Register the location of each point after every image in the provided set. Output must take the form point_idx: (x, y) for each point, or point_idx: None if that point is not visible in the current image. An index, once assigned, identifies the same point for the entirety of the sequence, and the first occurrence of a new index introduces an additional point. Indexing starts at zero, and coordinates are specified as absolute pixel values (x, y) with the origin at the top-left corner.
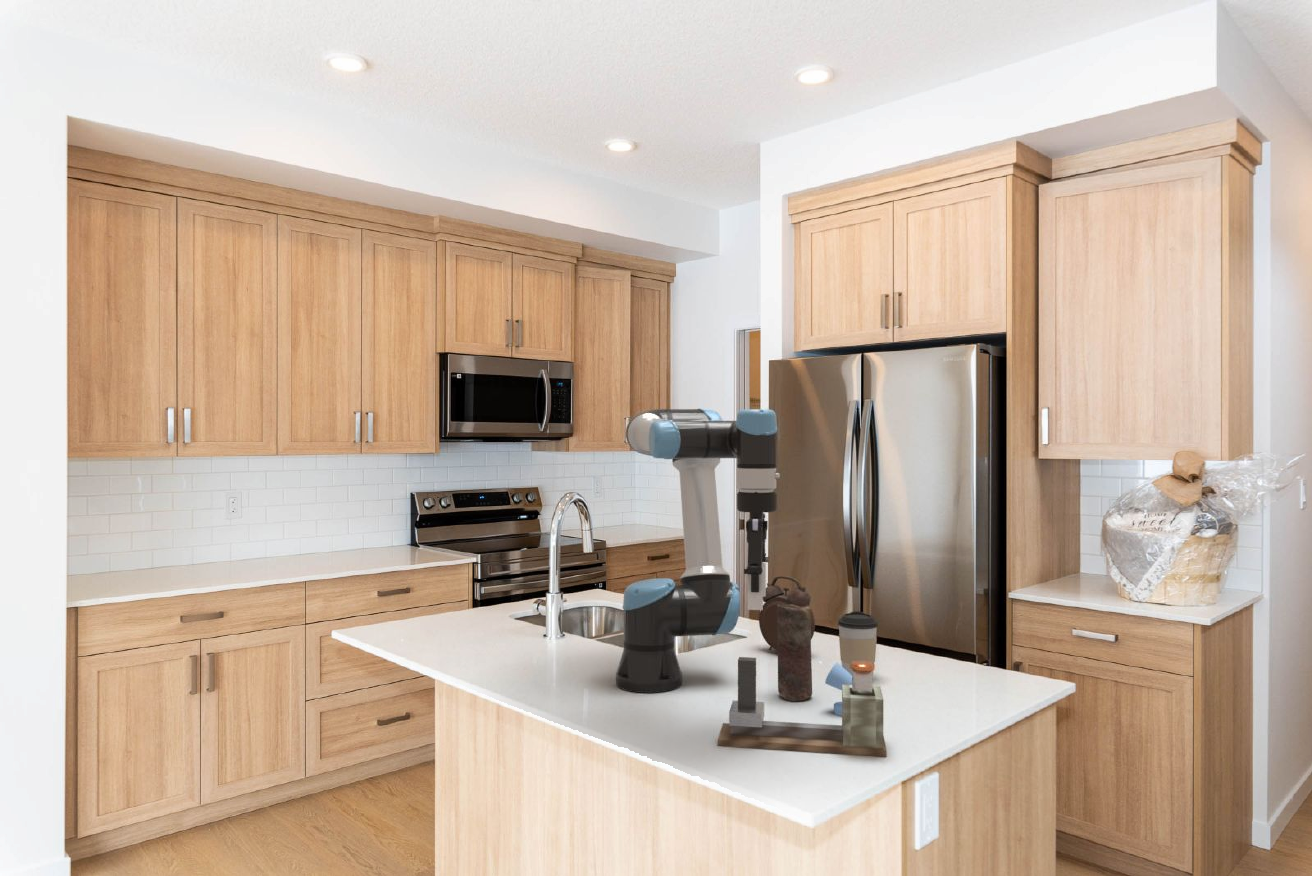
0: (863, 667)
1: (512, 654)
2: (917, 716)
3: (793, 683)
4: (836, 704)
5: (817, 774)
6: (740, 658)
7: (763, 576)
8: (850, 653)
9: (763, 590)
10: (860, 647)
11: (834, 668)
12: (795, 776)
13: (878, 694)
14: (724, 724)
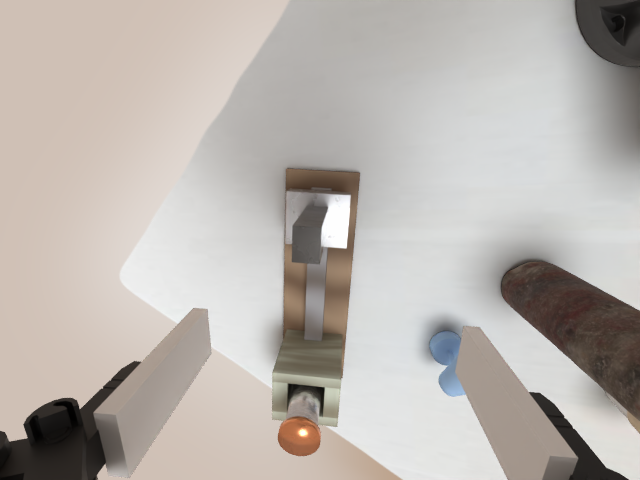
0: (278, 437)
1: None
2: (433, 422)
3: (518, 294)
4: (450, 341)
5: (216, 291)
6: (308, 231)
7: (491, 436)
8: None
9: (466, 383)
10: None
11: None
12: (205, 267)
13: None
14: (353, 176)
